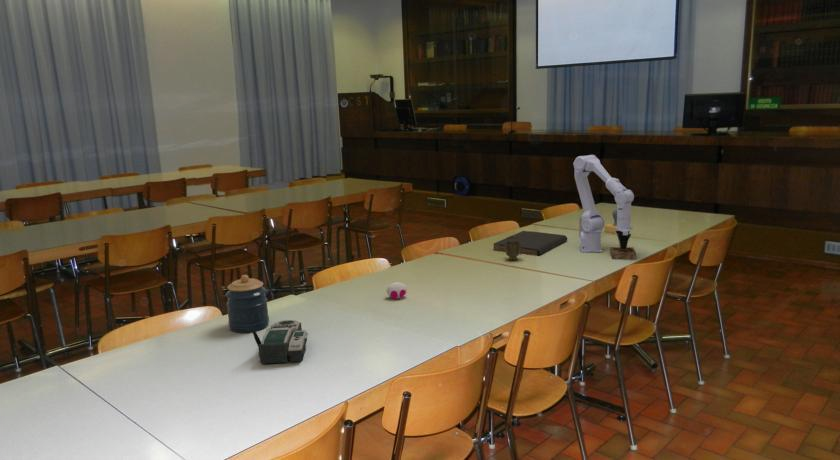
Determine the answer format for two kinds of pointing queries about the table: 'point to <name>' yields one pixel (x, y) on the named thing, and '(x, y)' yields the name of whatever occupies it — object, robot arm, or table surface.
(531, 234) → the file folder
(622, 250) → the peg
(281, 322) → the communication device
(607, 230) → the rubber stamp
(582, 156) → the robot arm
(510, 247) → the cup
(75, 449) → the table surface
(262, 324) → the canister
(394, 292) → the stress ball
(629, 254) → the box
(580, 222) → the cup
